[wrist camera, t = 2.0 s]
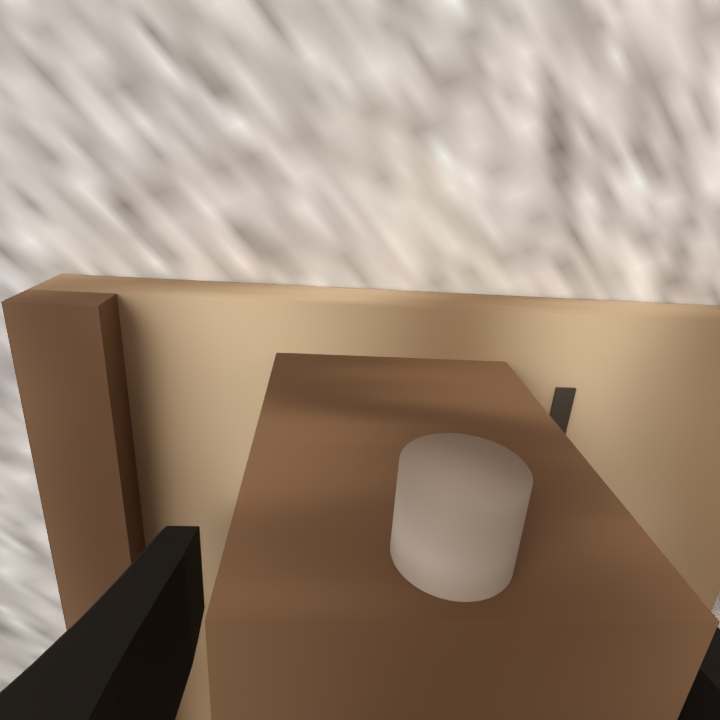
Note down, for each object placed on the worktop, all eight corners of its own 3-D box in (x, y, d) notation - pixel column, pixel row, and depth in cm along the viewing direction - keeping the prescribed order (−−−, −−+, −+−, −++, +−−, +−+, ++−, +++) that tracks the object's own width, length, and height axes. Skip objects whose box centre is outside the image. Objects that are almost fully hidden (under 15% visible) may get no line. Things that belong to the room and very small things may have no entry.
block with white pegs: (275, 686, 13) (234, 1080, 8) (276, 300, 9) (199, 519, 4) (447, 684, 13) (529, 1062, 8) (514, 311, 10) (759, 528, 4)
